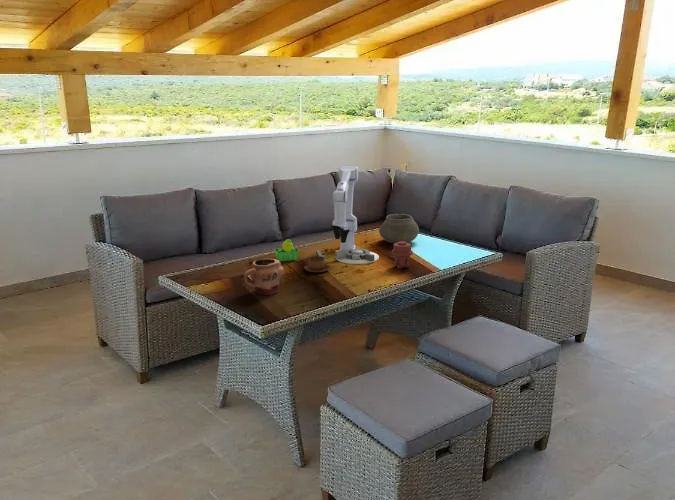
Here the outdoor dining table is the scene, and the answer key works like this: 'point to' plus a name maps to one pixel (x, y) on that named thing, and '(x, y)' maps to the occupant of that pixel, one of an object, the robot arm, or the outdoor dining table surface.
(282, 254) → the fruit basket
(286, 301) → the outdoor dining table surface
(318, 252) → the pin spanner
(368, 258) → the white round disc
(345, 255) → the grey block crown
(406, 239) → the clay pot
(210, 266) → the outdoor dining table surface
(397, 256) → the mechanical component
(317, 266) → the cup and saucer
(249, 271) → the decorative planter
